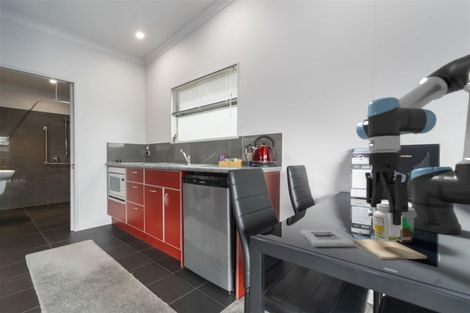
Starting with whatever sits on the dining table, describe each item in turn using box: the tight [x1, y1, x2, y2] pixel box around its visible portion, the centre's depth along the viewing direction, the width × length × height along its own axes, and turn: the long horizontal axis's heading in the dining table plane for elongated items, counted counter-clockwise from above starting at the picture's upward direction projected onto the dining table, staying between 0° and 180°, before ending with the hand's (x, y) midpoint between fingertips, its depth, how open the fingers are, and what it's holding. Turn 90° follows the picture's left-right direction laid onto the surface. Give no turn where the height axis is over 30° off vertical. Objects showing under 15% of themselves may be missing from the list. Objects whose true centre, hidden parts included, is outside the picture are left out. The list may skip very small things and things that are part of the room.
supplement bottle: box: [373, 203, 399, 242], centre depth 59 cm, size 5×5×10 cm
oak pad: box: [352, 238, 428, 260], centre depth 59 cm, size 12×12×1 cm
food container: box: [395, 206, 417, 243], centre depth 68 cm, size 12×6×10 cm, turn 168°
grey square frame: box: [299, 229, 356, 248], centre depth 66 cm, size 12×12×1 cm
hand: (385, 232), depth 59 cm, fingers closed on supplement bottle, 5 cm apart
